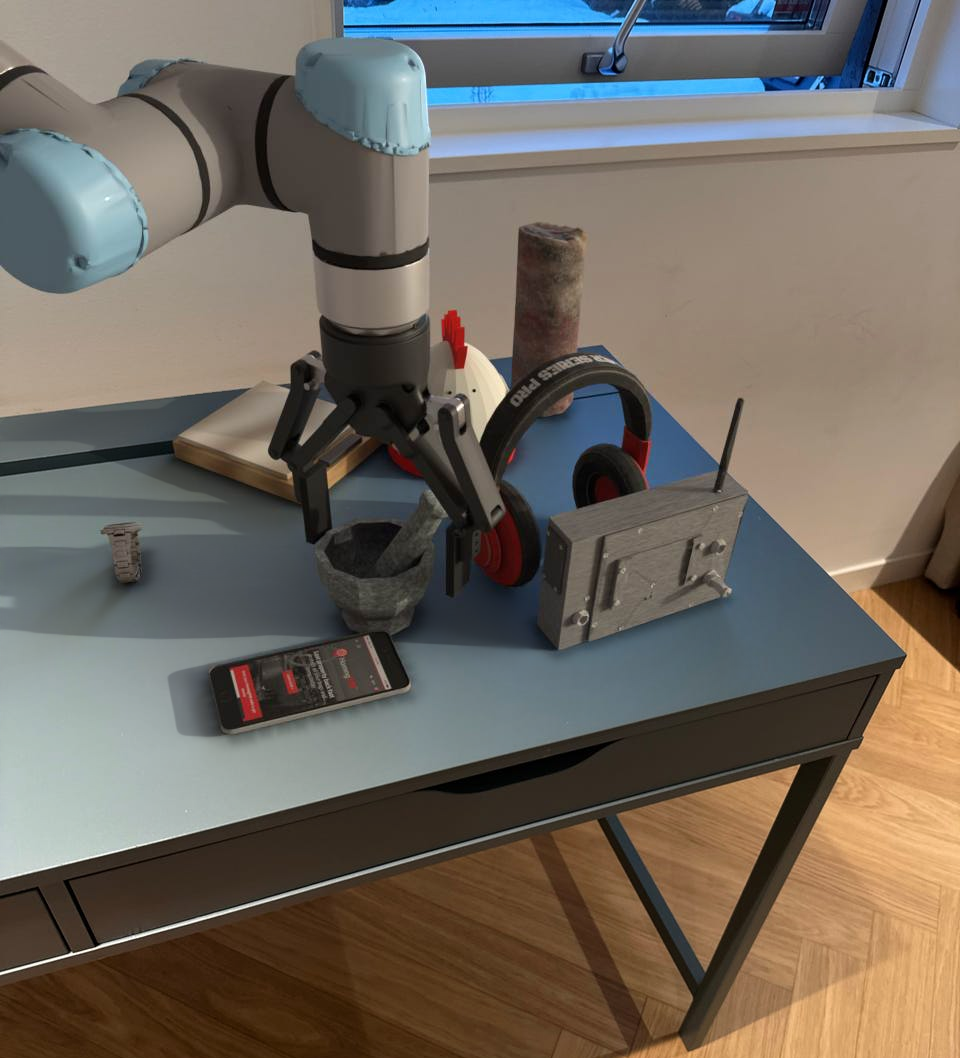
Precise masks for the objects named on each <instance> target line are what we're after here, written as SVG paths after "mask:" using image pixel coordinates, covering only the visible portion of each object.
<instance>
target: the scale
mask: <svg viewBox="0 0 960 1058" xmlns="http://www.w3.org/2000/svg"><path fill="white" fill-rule="evenodd" d="M290 389H291V388H287V387H285V386H284V387H283V386H280V385H277V384H274V383H271V382H268V381H266V380H262V381H260V382H259V383H257V384H256V385H254V386H252V387H251V388H249V389H248V390H246V391H245V392H243V393H241V394H240V395H239V396H237V397H236V398H234V399H232V400H231V401H229V402H228V403H226V404H225V405H223V406H221V407H220V408H218V409H217V410H215V411H214V412H212V413H210V414H209V415H208V416H206V417H205V418H203V419H200V420H199V421H198V422H197V423H195V424H193V425H192V426H189V428H187V429H186V430H184V431H182V432H181V433H180V434H178V435H177V437H176V438H175V439H174V440H172V446H173V451H174V456H175V458H176V459H178V460H181V461H183V462H187V463H189V464H192V465H194V466H197V467H200V468H202V469H205V470H207V471H211V472H213V473H216V474H219V475H222V476H224V477H226V478H228V479H229V478H230V479H231V480H234V481H237V482H240V483H241V484H245V485H247V486H250V487H253V488H256V489H259V490H260V491H264V492H267V493H270V494H272V495H274V496H277V497H280V498H283V499H285V500H288V501H290V502H293V503H295V504H298V505H301V506H302V503H299V502H297V500H296V497H295V493H294V485H293V477H292V472H291V471H290V470H289V469H288V467H287V463H286V462H284V461H283V460H281V459H279V460H274V459H272V458H271V457H270V456H269V454H268V447H269V445H270V442H271V439H272V437H273V434H274V431H275V429H276V426H277V423H278V421H279V418H280V415H281V413H282V410H283V407H284V405H285V402H286V399H287V397H288V394H289V391H290ZM336 407H337V405H336V403H332V402H330V401H326V400H324V399H320V398H317V399H316V402H315V404H314V407H313V409H312V411H311V414H310V416H309V419H308V421H307V424H306V426H305V429H304V431H303V433H302V436H301V438H300V441H299V443H298V444H300V445H301V446H302V445H303V444H304V443H305V442H306V441H307V440H308V438H309V437H310V436H311V435H312V434H313V433H314V432H315V431H316V430H317V429H318V428H319V427H320V425H321V424H322V423H323V421H324V420H325V419H326V418H327V416H328V415H329V414H330V413H331V412H332V411H333V410H334V409H335V408H336ZM384 444H385V443H382V442H380V441H378V440H377V439H375V438H373V437H363V436H360V435H357V434H355V430H354V429H353V428H352V427H351V426H350V425H348V426H347V427H346V428H345V429H344V430H343V431H342V432H341V433H340V434H339V435H338V436H337V437H336V439H335V440H334V441H333V442H332V443H331V444H330V445H329V446H328V447H327V448H326V449H325V450H324V451H323V452H322V453H321V455H320V456H319V457H318V458H316V459H315V460H314V464H316V463H317V462H318V461H319V462H322V463H325V464H326V469H327V479H328V490H330V489H331V487H333V486H334V485H335V484H337V483H338V482H339V481H340V480H341V479H342V478H344V477H346V475H347V474H349V473H350V472H351V471H352V470H353V469H355V468H356V467H357V466H359V464H361V463H362V462H363V461H364V460H366V459H367V458H368V457H369V456H371V455H372V454H373V453H374V452H376V451H377V450H378V449H379V448H380V447H382V446H383V445H384Z"/></svg>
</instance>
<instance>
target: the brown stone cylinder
mask: <svg viewBox="0 0 960 1058" xmlns="http://www.w3.org/2000/svg"><path fill="white" fill-rule="evenodd" d="M517 234H518V235H517V257H516V258H517V259H516V281H515V303H514V319H513V320H514V321H513V322H514V323H513V324H514V325H513V335H512V336H513V337H512V338H513V339H512V353H511V354H512V355H511V377H510V379H511V381H510V390H511V389H512V388H513V387H514V386H515V385H516V384H517V383H518V382H519V381H520V380H521V379H522V378H524V377H525V376H526V375H527V374H529V373H530V372H531V371H533V370H534V369H535V368H537V367H538V366H540V365H542V364H544V363H546V362H548V361H549V360H551V359H554V358H557V357H560V356H563V355H566V354H571V353H576V352H578V342H579V341H578V340H579V329H580V320H581V319H580V318H581V305H582V295H583V283H584V273H585V263H586V262H585V261H586V251H587V250H586V249H587V239H588V234H587V231H586V229H584V228H583V227H581V226H576V227H573V226H572V227H571V226H568V225H562V226H561V225H558V224H553V223H550V222H547V221H546V222H545V221H537V222H532V223H527V224H524V225H521V226H519V227H518V233H517ZM574 392H575V391H574ZM574 392H572V393H570V394H568V395H566V396H565V397H563V398H561V399H560V400H559V401H557V402H556V403H555V404H553V405H552V406H550V407H549V408H548V409H547V410H546V411H545V412H544V413H542V414H541V415H540V416H539V417H538V418H547V417H551V416H553V415H559V414H563V413H564V412H565V411H566V410H567V409H568V407H569V406H570V405H571V404H572V402H573V401H574Z"/></svg>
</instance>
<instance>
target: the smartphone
mask: <svg viewBox="0 0 960 1058" xmlns="http://www.w3.org/2000/svg"><path fill="white" fill-rule="evenodd" d="M208 678H209V682H210V686H211V692H212V694H213V699H214V704H215V707H216V712H217V716H218V720H219V725H220V728H221V729H220V730H221V732H223V733H224V734H226V735H230V736H231V735H236V734H237V735H238V734H240V733H245V732H248V731H249V732H250V731H253V730H257V729H261V728H265V727H269V726H274V725H278V724H283V723H286V722H290V721H294V720H298V719H302V718H306V717H311V716H314V715H318V714H322V713H323V714H324V713H326V712H331V711H335V710H339V709H343V708H347V707H351V706H355V705H359V704H364V703H368V702H373V701H376V700H380V699H384V698H388V697H393V696H395V695H396V696H397V695H400V694H404V693H407V692H408V691H409V690H410V689H411V687H412V686H411V679H410V676H409V675H408V672H407V670H406V667H405V666H404V664H403V660H402V659H401V657H400V655H399V651H398V650H397V648H396V645H395V643H394V641H393V639H392V637H391V636H390V634H389V633H388V632H387V631H381V632H371V631H370V632H365V633H361V634H360V633H357V634H353V635H348V636H343V637H338V638H333V639H330V640H326V641H320V642H317V643H312V644H308V645H303V646H298V647H293V648H290V649H285V650H280V651H275V652H272V653H266V654H262V655H258V656H257V655H256V656H253V657H249V658H248V657H247V658H245V659H239V660H236V661H230V662H227V663H222V664H221V663H220V664H216V665H214V666H213V667H211V668H210V669H209V671H208Z"/></svg>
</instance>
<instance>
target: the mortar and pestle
mask: <svg viewBox="0 0 960 1058" xmlns="http://www.w3.org/2000/svg"><path fill="white" fill-rule="evenodd" d="M447 518H449V516H448V515H447V513H446V512H445V510H444V509H443V507H442V506H441V504H440V503H439V501H438V500H437V498H436V497H435V495H434V494H433V492H432V491H431V489H424V490H423V491H422V493H421V494H420V496H419V499H418V504H417V506H416V507H415V509H414V510H413V512H411V515H409V516H408V518H407V520H406V521H402V520H400V519H397V518H393V517H371V518H369V517H368V518H366V517H365V518H354V519H351V520H350V521H347V522H345V523H343V524H341V525H338V526H336V527H334V528H332V529H331V530H329V531H327V532H326V534H325V535H324V536H323V537H322V538H321V539H320V540H321V541H320V542H319V544H318V545H317V548H316V549H315V550H314V556H315V557H314V559H315V566H316V569H317V573H318V575H319V579H320V581H321V583H322V585H323V587H324V589H325V590H326V592H327V594H328V596H329V597H330V599H331V601H332V602H333V604H335V605H336V607H337V608H338V609H339V610H341V617H342V618H343V620H344V622H345V624H346V625H347V628H348V629H349V630H350V631H353V632H356V633H357V634H361V633H365V632H370V631H371V632H381V631H387V632H388V633H389V634H390V637H391V636H394V635H395V634H397V633H399V632H400V631H402V630H405V629H406V628H408V627H410V625H411V622H412V620H413V617H414V614H415V607H416V606H417V605H419V603H420V601H421V600H422V598H423V597H424V596H425V593H426V591H427V589H428V586H429V583H430V581H431V579H432V575H433V571H434V566H435V562H436V546H435V545H434V543H433V542H432V539H433V537H434V535H435V533H436V531H437V529H438V528H439V526H440V524H441V523H442V521H443V520H445V519H447Z"/></svg>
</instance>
